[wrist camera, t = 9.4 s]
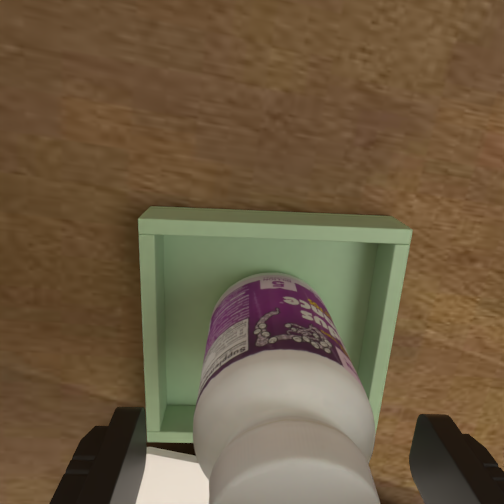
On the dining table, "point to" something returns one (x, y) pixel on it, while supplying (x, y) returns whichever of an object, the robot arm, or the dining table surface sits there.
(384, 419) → the dining table surface
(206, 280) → the green tray
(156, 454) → the plate
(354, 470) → the pill bottle
